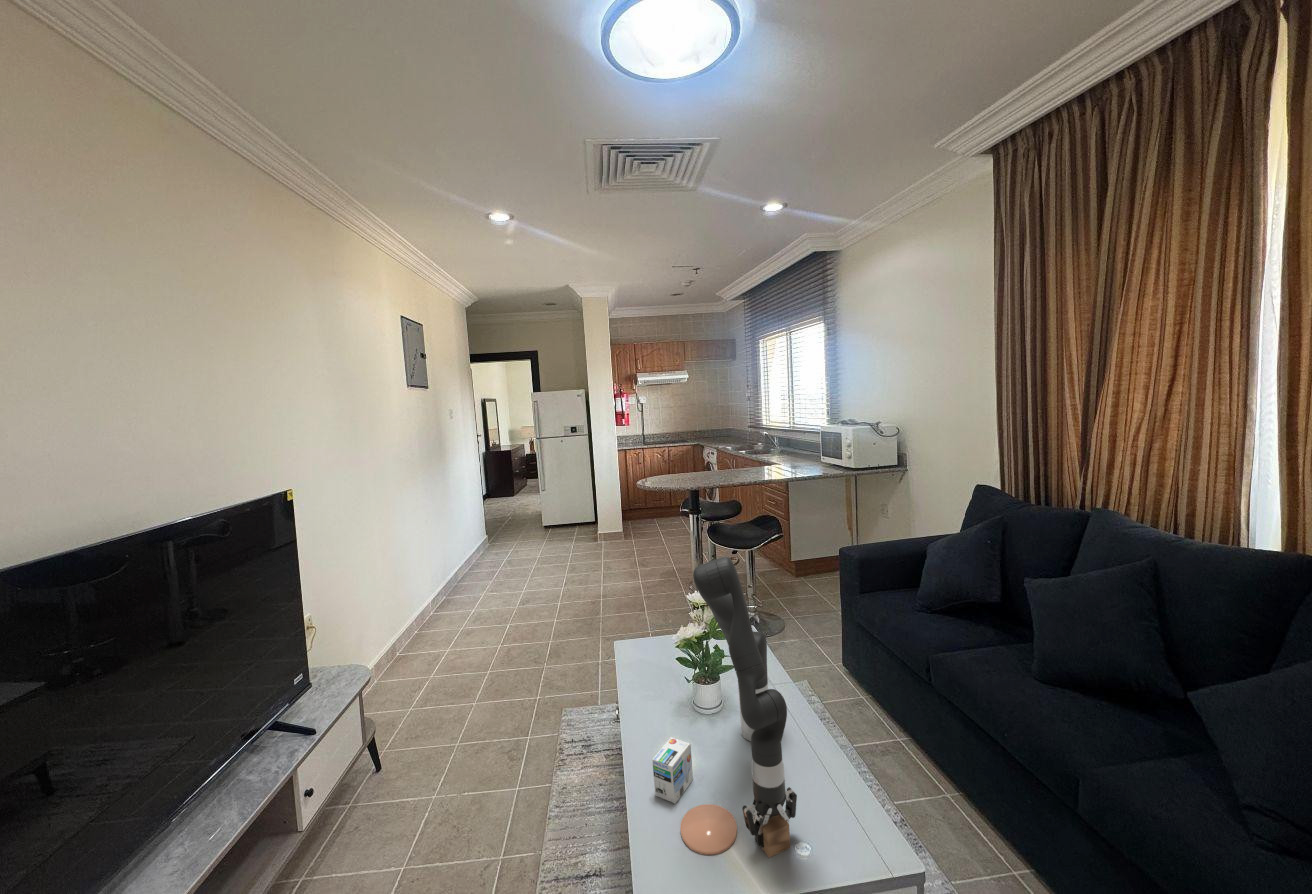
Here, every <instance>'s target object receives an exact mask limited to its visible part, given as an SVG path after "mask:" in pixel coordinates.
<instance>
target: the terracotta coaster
mask: <svg viewBox="0 0 1312 894" xmlns="http://www.w3.org/2000/svg"><path fill="white" fill-rule="evenodd" d="M679 828H680V836H681V838H682V841H683V843H684V844H685V845H686V847H688V848H689V849H690V850H691V851H693V852H695V853H698V854H701V855H705V856H715V855H717V854H718V855H719V854H721V853H723V852H725V851H727V850H729V849H730V848H731V847H732V846H733V844H734V843H735V842H736V840H737V835H738V826H737V821H736V819H735V817H734V815H733V814H732V813H731V812H730V811H729V810H728V809H726V808H724V807H722V806H720V805H717V804H713V803H712V804H709V803H707V804H706V803H705V804H701V805H697V806H694V807H692V808H691V809H689V810H688V811H687V812H686V813H685V814H684V815H683V817H682V819H681V821H680V827H679Z"/></svg>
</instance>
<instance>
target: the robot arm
mask: <svg viewBox="0 0 1312 894" xmlns="http://www.w3.org/2000/svg"><path fill="white" fill-rule="evenodd" d="M737 571H738V570H737V568H736V566H735V564H734V562H733V560H732V559H731V558H730V557H729V556H726V555H725V556H722V557H719V558H715V559H713V560H710V561H707V562H705V563H702V564H700V565H698V566H696V567H695V568H694V570H693V572H692V573H693V574H692V576H693V577H692V578H693V583H694V585H695V587H696V590H697V591H698V593H699V595H700V596H701V598H702V599H703V601H704V602H705V603H706V605H707V606H708V607H709V609H710V611H711V613H712V615H713V618H714V619H715V622H716V624H717V625H718V627H719V628H720V630H721V631H722V634H723V636H724V638H725V640H726V643H727V646H728V650H729V657H730V660H731V662H732V666H733V668H734V671H735V675H736V677H737V686H738V701H739V715H740V729H741V731H740V732H741V735H742V737H743V738H744V739H745V740H746V741H749V742H750V746H751V749H750V750H751V779H752V792H753V801H752V804H751V805H749V806H747V805H743V806H742V808H741V809H742V814H743V818H744V822H745V827H746V829H747V830H748V831H749V832H750V833H749V834H750V835H752V836H754V842H755V843H756V844H757V846H758V847H759V848H760V849H762V848H763V847H764V839H763V833H762V832H763V828H764V826H766V825H767V822H768V819H769V818H771V817H772V816H777V815H779V814H780V815H781V817H782V818H783V819H785V820H786V821H787V823H788V824H789V825H790V819H791V818H792V819H794V818H796V815H797V813H796V812H797V799H798V796H797V795H798V794H797V793H796V792H795V791H794V790H793V789H792V788H791V787H787V788H786V779H785V778H786V777H785V767H784V760H783V748H782V740H783V736H784V732H785V727H786V723H787V718H788V717H787V716H788V707H787V703H786V700H785V697H784V696H783V694H782V693H781V692H780V691H779V690H776V689H774V688H769V681H768V679H769V678H768V645H767V644H768V641H767V638H766V635H765V634H764V633H763V632H762V631H761V632H760V631H753V626H752V622H751V617H750V614H749V609H748V606H747V603H746V602H747V601H746V599H745V594H744V591H743V587H742V583H741V579H740V576H739V573H738V572H737ZM784 804H785V809H784V808H783V807H784ZM778 813H779V814H778ZM754 815H755V820H754ZM762 817H763V818H762Z"/></svg>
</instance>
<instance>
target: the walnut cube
mask: <svg viewBox="0 0 1312 894" xmlns="http://www.w3.org/2000/svg"><path fill="white" fill-rule="evenodd" d="M778 814H779V813H778ZM762 818H763V817H762ZM754 820H755V814H754V818H753V821H754ZM788 823H789V822H788ZM788 823H787V821H786V820H785V819H783V818H782V817H781V815H780V814H779V815H777V816H772V817H771V818H769V819H768V822H767V825H766V826H764V828H763V832H762V833H763V839H764V847H763V848H761V849H762V850H763V852H764V853H765V855H766V856H767V857H768V858H772V857H773V856H776V855H779V854H780V853H782V852H785V851H787V850H789V849H791V836H790V831H791V830H790V823H789V824H788Z"/></svg>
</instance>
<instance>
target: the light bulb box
mask: <svg viewBox="0 0 1312 894" xmlns="http://www.w3.org/2000/svg"><path fill="white" fill-rule="evenodd" d="M651 761H652V769H653V770H652V771H653V782H654V793H655V794H654V795H655V796H656V797H658V798H661V799H662V800H664V801H665V800H666V801H668V802H670V803H672V804H676V803H677V802H678V801H679V800H680V799H681V797H682V796H683V794H684V793H685V791H686V790H687V788H688V787H689V786H690V784H691V783H692V781H693V780H694V773H693V760H692V745H691V742H690V743H689V742H686V741H684V740H681V739H677V738H674V737H672V736H670V737H669V739H668V740H667V741H666V742H665V743H664V745H663V746H662V747H661V748H660V750H659V751H658V752H657V753H656V755H654V757H653V758H652V759H651Z"/></svg>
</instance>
